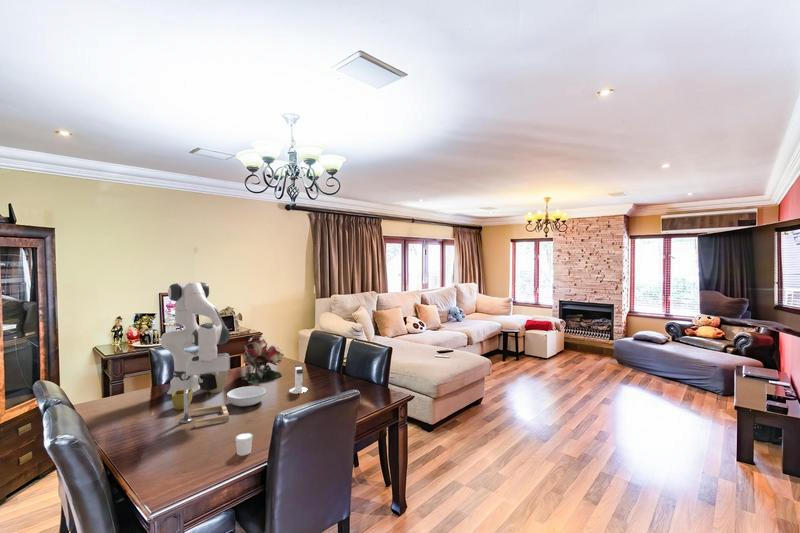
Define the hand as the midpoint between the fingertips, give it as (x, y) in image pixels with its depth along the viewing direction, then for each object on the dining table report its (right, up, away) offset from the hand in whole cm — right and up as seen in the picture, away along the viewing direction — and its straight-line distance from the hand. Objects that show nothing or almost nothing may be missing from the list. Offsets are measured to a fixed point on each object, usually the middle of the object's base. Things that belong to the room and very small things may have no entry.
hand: (208, 381), depth 199 cm
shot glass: (+33, -20, -35) cm, 52 cm away
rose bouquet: (+1, -19, +72) cm, 74 cm away
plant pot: (-16, -19, +42) cm, 49 cm away
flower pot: (-21, -19, +14) cm, 32 cm away
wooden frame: (+1, -19, +1) cm, 20 cm away
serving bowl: (+12, -20, +21) cm, 31 cm away
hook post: (-9, -20, -5) cm, 22 cm away
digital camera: (+1, -4, 0) cm, 4 cm away
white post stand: (+36, -19, +43) cm, 59 cm away
